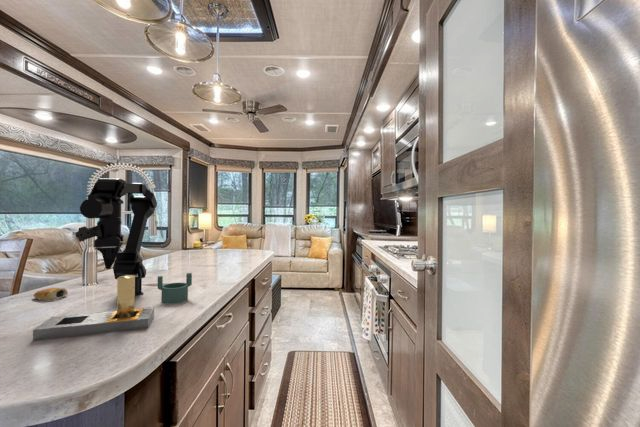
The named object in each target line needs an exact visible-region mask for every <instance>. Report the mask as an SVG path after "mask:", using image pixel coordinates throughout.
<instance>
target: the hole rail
mask: <svg viewBox="0 0 640 427" xmlns="http://www.w3.org/2000/svg"><path fill="white" fill-rule="evenodd" d="M154 318H155V307H151V308H144V307H142V308H135V317H130V318H119V319H117V310H115V311H105V312H94V313H83V314H82V313H81V314H73V315H72V314H70V315H59V316H51V317H50V318H48V319H47V320H45V321H44V322H43V323H42V322H41V324H39V325H38V326H36V327H35V328H34V329H32V341H40V340H42V341H43V340H49V339H50V340H51V339H60V338H68V337H69V338H70V337H77V336H85V335H87V336H88V335H96V334H97V335H98V334H107V333H115V332H123V331H133V330H142V329H149V327H150V325H151V323H152V322H153V319H154Z"/></svg>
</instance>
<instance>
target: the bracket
mask: <svg viewBox="0 0 640 427" xmlns="http://www.w3.org/2000/svg"><path fill="white" fill-rule="evenodd" d="M192 273H193V272H188V273H186V276H185V277H186V281H185V282H171V283H167V284H163V282H164V281H163V278H164V277H163V275H158V276H157V289H158V290H159V291H161V298H160V299H161V303H162V304H165V305H166V304H169V305H171V304H172V305H173V304H179V303H180V304H181V303H183V302H186V301H188V299H189V287H191V286H192V285H193V284H192V282H193V278H192V276H193V274H192Z"/></svg>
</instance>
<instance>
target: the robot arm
mask: <svg viewBox="0 0 640 427" xmlns="http://www.w3.org/2000/svg"><path fill="white" fill-rule="evenodd" d="M127 194H129V197H128V200H127V201H128V202H129V204H130V210H131V211H132V213H133V216H132V220H131V225H130V229H129V233H128V236H127V240H126V242H125V248H124V250H122V251H121V252H120V250H121V248H122V245H123V242H124V235H123V234H122V223H123V222H122V205H123V204H124V201H123V199H121V198H122V197H124V196H126V195H127ZM135 194H137V195H138V194H140V195H141V196H140V195H138V196H137V195H136V196H134V195H135ZM157 206H158V201H157V198H156V196H155V194H154V192H152V191H151V190H149V189H148V188H147V185H146V184H145V183H142V182H127V181H126V180H125V179H122V178H107V177H103V178H101V177H100V178H98V179H97V181H96V182H95V183H94V184H93V187H92V189H91V190H90V193H89V194H88V195H87V199H85V200H83V201H82V202H81V204H80V206H79V212H80V213H81V215H82V216H83V217H85V218H87V219H98V221H97V222H96V225H95V226H91V227H87V226H86V225H85V226H81V227H78V231H75V232H74V234H75V237H76V239H77V240H78V242H79V243H81V242H84V241H86V240H88V239H91V238H94V237H96V238H95V239H94V240H93V248H95V250H97V251H98V252H100V253H101V255H102V259H103V262H104V267H105V269H106V270H110V269H112V270H113V275H114V279H115V280H117V278H118V277H121V276H129V275H132V276H135V296H140V295H143V294H144V292H143V291H142V290H143V289H142V284H143V283H142V280H143V279H145V278H146V275H147V269H146V268H145V266H144V263H143V261H144V260H143V258H142V256H141V253H140V252H141V248H142V245H143V244H142V243H143V239H144V235H145V230H146V228H147V227H146V226H147V223H148V219H149V218H150V217H151V216H153V214H154V213H155V211H156V209H157Z"/></svg>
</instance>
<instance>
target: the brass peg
mask: <svg viewBox="0 0 640 427" xmlns="http://www.w3.org/2000/svg"><path fill="white" fill-rule="evenodd" d="M116 280H117V282H116V284H117V285H116V287H117V288H116V292H117V294H116V311H117V319H119V318H130V317H135V309H136V308H135V306H136V303H135V302H136V300H135V299H136V295H135V276H132V275H129V276H121V277H118V278H117V279H116Z"/></svg>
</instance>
